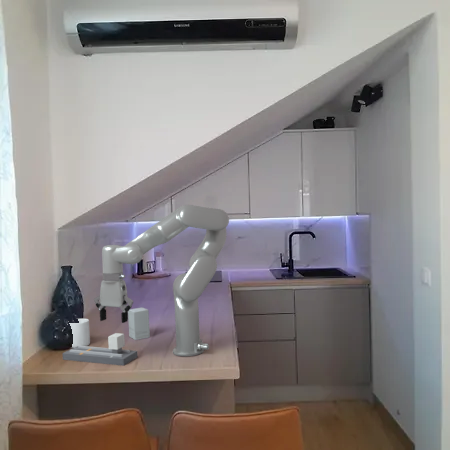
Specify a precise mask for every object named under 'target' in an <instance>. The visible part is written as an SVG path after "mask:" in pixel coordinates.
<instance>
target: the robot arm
mask: <svg viewBox="0 0 450 450" xmlns="http://www.w3.org/2000/svg"><path fill="white" fill-rule="evenodd" d="M229 224H230V217H229V215H228V213H227V211H225V210H223V209H221V208H215V207H214V208H213V207H204V206H199V205H193V204H183V205H181V206H179V207H178V208H177V209H175V210H174V211H172V212H171V213H169V214H168V215H166V216H165V217H164V218H162V219H160V221H158V222H156V223H155V224H153V225H152V226H151V227H149V228H148V229H147V230H145V231H144V232H142V233H140V234H139V235H138V236H136V237H134V238H133V239H132V240H130V241H129V242H127V243H126V244H125V245H122V246H121V245H118V244H109V245H104V246H103V247H102V249H101V250H102V251H101V260H102V280H101V282H100V289H99V290H100V292H99V295H98V296H96V297H95V298H93V302H94V304H95V307H97V310H98V311H99V318H100V319H99V320H100V322H102V321H106V320H107V309H106V308H107V307H108V308H119V309H120V310H121V311H122V312H121V323H127V322H129V320H128V311H129V310H130V309H132V306H133V304H134V300H133V299H131V298H130V297H129V296H128V290H127V284H126V280H124V279H125V278H126V274H124V272H123V268H124V267H123V265H124V264H126V265H136V264H138V263H140V262H141V261H142V259H143V255H144V254H147V253H148V252H149V251H151V250H153V249H155V247H157V246H160V245H164V244H166V243H168V242H170V241H171V240H172V239H174V238H176V237H177V236H178V235H179V234H181V233H182V232H184V231H185V230H187V229H188V228H193V229H194V228H195V229H202V230H206V231H205V235H204V238H203V240H202V241H201V243H200V244H199V246H198V247H197V248H196V250H195V252H194V253H193V254H192V256H191V257H190V259H189V261H188V262H189V264H188V266H189V268H188V270H187V272H186V273H181V274H179V275H177V276H176V277H175V279H174V281H173V284H172V292H173V301H174V317H175V318H174V320H175V340H176V341H175V345H176V346H175V347H174V348H173V349H172V354H173V355H174V356H178V357H194V356H198V355H200V354H203V353H204V352H205V351H207V350H208V351H209V349H210V345H209V343H205V342H203V339H200V337H201V336H200V334H201V333H200V332H201V331H200V317H199V315H200V311H199V309H200V308H199V298H200V297H201V296H202V294H203V293H204V291H205V290H206V288H207V287H208V285H209V283H210V282H211V281H212V279H213V277H214V276H215V274H216V272H217V268H218V263H217V260H216V259H217V258H218V256H219V254H220V253H221V251H222V250H223V248H224V246H225V244H226V241H227V227H228V226H229Z"/></svg>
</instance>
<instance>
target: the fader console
mask: <svg viewBox="0 0 450 450" xmlns="http://www.w3.org/2000/svg"><path fill="white" fill-rule="evenodd" d="M137 358H138V350H131V349H123V348H122V352H121V353H119V354H114V353H112V349H109V347H99V346H98V347H97V346H89V345H88V346H77V347H75V348H70V349H69V350H66V351H64V352H62V360H65V361H73V362H74V361H75V362H83V363H92V364H93V363H95V364H103V365H112V366H113V365H114V366H125V365H127V364H129V363H131V362H132V361H134V360H135V359H137Z"/></svg>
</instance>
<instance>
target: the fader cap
mask: <svg viewBox="0 0 450 450" xmlns="http://www.w3.org/2000/svg"><path fill="white" fill-rule="evenodd" d="M107 340H108V341H107V343H108V348H109V349H112V353H114V354H119V353H121V352H122V349H123V347H126V345H125V344H126V343H125V333H118V332H114V333H113V334H110V335H109V336H108V337H107Z"/></svg>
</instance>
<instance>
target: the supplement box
mask: <svg viewBox="0 0 450 450" xmlns="http://www.w3.org/2000/svg"><path fill="white" fill-rule="evenodd" d="M149 316H150V312H149V309H148V308H146V307H145V308H144V307H137V308H130V310H129V311H128V335H129V336H128V337H129V338H131V339H133V340H134V341H137V340H142V339H147V338H150V337H151V332H150V317H149Z"/></svg>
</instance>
